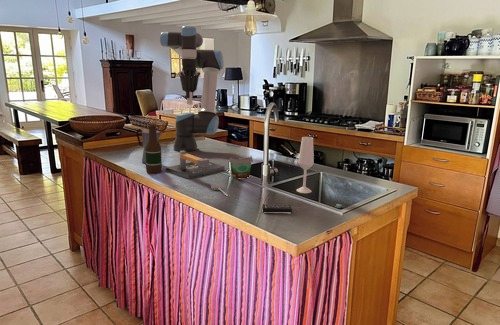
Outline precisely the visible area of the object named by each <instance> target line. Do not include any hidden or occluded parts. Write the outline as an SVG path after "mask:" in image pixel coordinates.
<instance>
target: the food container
mask: <svg viewBox="0 0 500 325" xmlns="http://www.w3.org/2000/svg"><path fill="white" fill-rule="evenodd" d="M253 161H254V159H253V156H252V155H250V156H249V157H238V158H232V157H230V158H229V160H228V163H230V175H231V178H232V177H233V179H235V178H246V179H248V178H247V177H249V176H250V175H251V168H252V163H253ZM250 177H251V176H250ZM250 177H249V178H250Z"/></svg>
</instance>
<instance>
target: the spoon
mask: <svg viewBox="0 0 500 325" xmlns="http://www.w3.org/2000/svg"><path fill="white" fill-rule="evenodd" d="M213 188H214V189H213ZM217 188H218V189H217ZM210 189H211V190H214V191H217V190H219V191H220V192H221V193H222V194H223V195H224V196H225V195H226V196H228V195H229V194H228V193H227V192H226V191H224V190H222V188H221V187H220V186H219V185H217V184H214V183H212V184H211V185H210ZM226 196H225V197H226Z"/></svg>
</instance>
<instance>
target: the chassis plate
mask: <svg viewBox="0 0 500 325" xmlns="http://www.w3.org/2000/svg"><path fill="white" fill-rule="evenodd" d="M225 167H226V166H225V165H221V164H218V163H214V162H211V161H209V165H208V166H203V167H199V166H197V164H196V163H193V162H190V161H189V162H186V169H185V170H181V169H180V164H176V165H172V166H167V167H165V172H167V173H170V174H172V175H176V176H178V177H181V178H184V179H187V180H190V179H194V178H199V177H202V176H206V175H210V174H214V173H218V172H221V171H220V170H222V171H225V170H226V169H225ZM224 169H225V170H224ZM217 171H218V172H217Z"/></svg>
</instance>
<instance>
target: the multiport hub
mask: <svg viewBox="0 0 500 325" xmlns="http://www.w3.org/2000/svg"><path fill="white" fill-rule="evenodd" d="M262 208H263V212H292V213H293V208H292V205H291V204H272V203H271V204H269V203H263V204H262Z"/></svg>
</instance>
